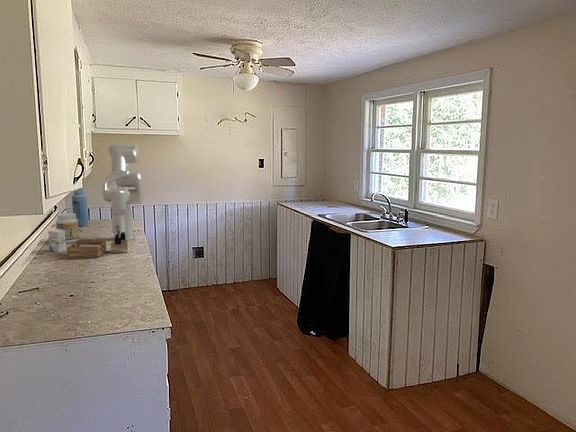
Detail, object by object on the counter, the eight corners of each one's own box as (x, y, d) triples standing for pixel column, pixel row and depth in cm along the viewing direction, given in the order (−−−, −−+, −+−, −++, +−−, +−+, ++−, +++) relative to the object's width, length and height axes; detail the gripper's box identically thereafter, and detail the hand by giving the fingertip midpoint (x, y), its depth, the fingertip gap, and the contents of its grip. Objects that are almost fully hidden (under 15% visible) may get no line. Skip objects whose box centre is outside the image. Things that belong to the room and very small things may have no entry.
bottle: (91, 225, 330) (88, 185, 325) (81, 227, 321) (78, 186, 316) (81, 224, 333) (78, 184, 328) (70, 226, 324) (68, 185, 319)
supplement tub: (55, 243, 268) (53, 216, 265) (59, 239, 279) (57, 213, 276) (77, 242, 271) (75, 215, 268) (80, 238, 283) (78, 212, 280)
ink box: (48, 250, 251) (47, 230, 249) (56, 248, 255) (55, 228, 253) (58, 252, 247) (57, 231, 245) (66, 250, 251) (65, 230, 249)
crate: (77, 252, 248) (76, 241, 247) (106, 251, 249) (105, 241, 249) (67, 258, 233) (67, 247, 233) (98, 258, 235) (97, 246, 234)
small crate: (114, 250, 252) (113, 240, 251) (130, 250, 253) (129, 240, 252) (111, 253, 246) (110, 242, 245) (127, 252, 247) (127, 242, 246)
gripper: (115, 210, 254) (117, 240, 256) (107, 214, 237) (109, 245, 239) (129, 210, 254) (130, 239, 257) (121, 214, 237) (123, 245, 240)
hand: (120, 242), depth 248 cm, fingers open, 9 cm apart
